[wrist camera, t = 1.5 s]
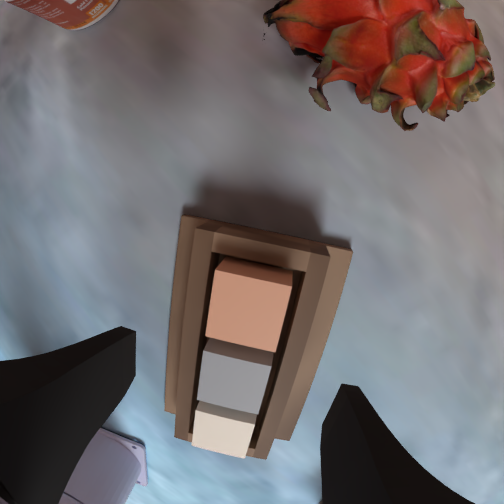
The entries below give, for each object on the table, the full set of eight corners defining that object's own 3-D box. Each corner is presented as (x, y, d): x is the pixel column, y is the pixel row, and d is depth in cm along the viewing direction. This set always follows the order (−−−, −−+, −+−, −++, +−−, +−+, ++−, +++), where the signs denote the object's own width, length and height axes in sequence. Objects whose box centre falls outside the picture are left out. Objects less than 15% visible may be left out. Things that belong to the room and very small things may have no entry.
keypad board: (167, 406, 23) (154, 430, 20) (185, 214, 19) (166, 222, 16) (289, 435, 22) (287, 463, 19) (351, 249, 18) (361, 263, 15)
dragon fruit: (456, 115, 17) (286, 65, 19) (487, 4, 10) (294, -48, 12) (484, 186, 11) (236, 111, 14) (547, 22, 5) (239, -65, 7)
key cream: (200, 422, 20) (191, 445, 18) (205, 386, 20) (195, 410, 17) (249, 434, 20) (244, 458, 18) (259, 399, 19) (255, 424, 17)
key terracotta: (216, 316, 18) (205, 336, 16) (225, 256, 17) (215, 269, 15) (278, 330, 18) (275, 352, 15) (292, 270, 17) (292, 286, 15)
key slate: (207, 376, 19) (196, 399, 17) (214, 329, 18) (203, 350, 16) (262, 389, 19) (257, 414, 17) (274, 343, 18) (271, 366, 16)
